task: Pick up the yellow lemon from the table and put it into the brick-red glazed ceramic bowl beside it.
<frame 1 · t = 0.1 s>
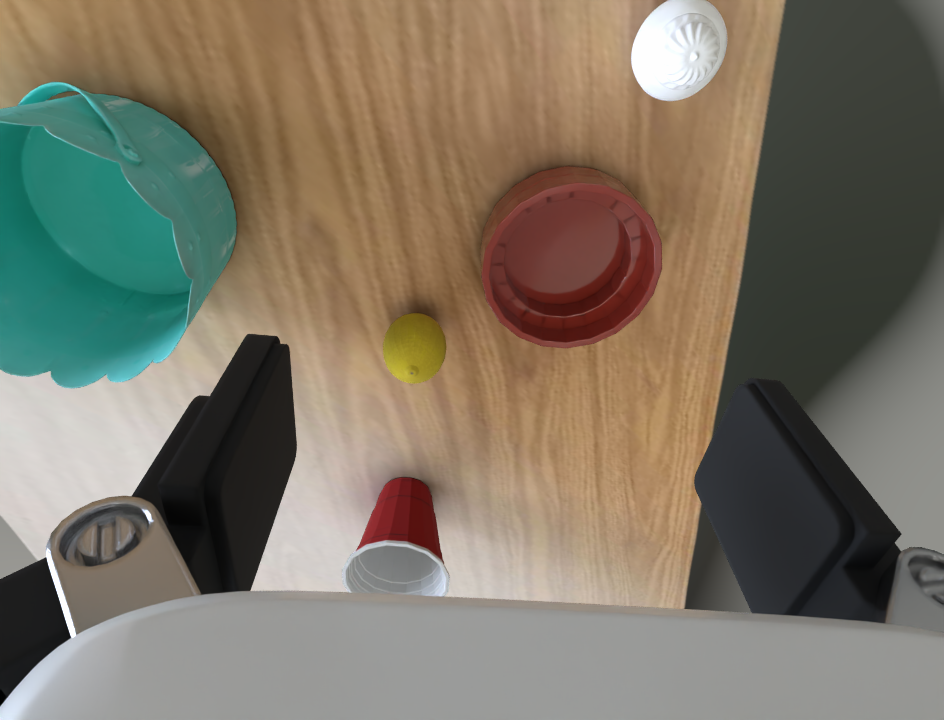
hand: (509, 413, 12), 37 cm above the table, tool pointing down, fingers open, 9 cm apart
basket: (131, 202, 46), on the table
muffin: (662, 45, 41), on the table
plastic cup: (405, 491, 66), on the table
bowl: (562, 247, 49), on the table
lemon: (417, 322, 53), on the table
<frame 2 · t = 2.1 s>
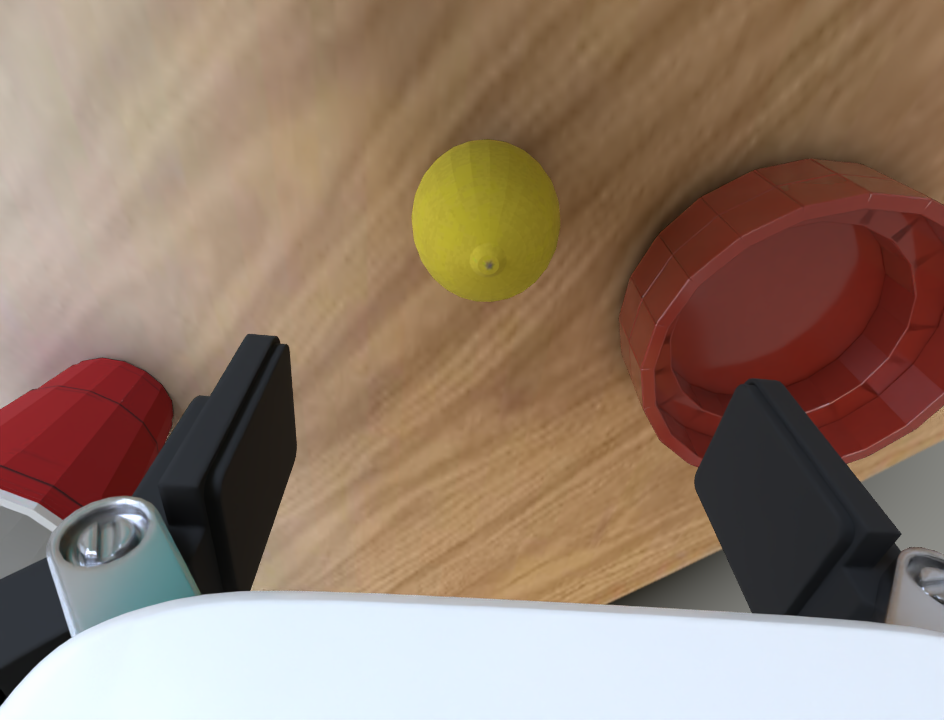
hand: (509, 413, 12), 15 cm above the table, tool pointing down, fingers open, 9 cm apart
plastic cup: (122, 394, 31), on the table
bowl: (762, 303, 28), on the table
lemon: (483, 184, 25), on the table
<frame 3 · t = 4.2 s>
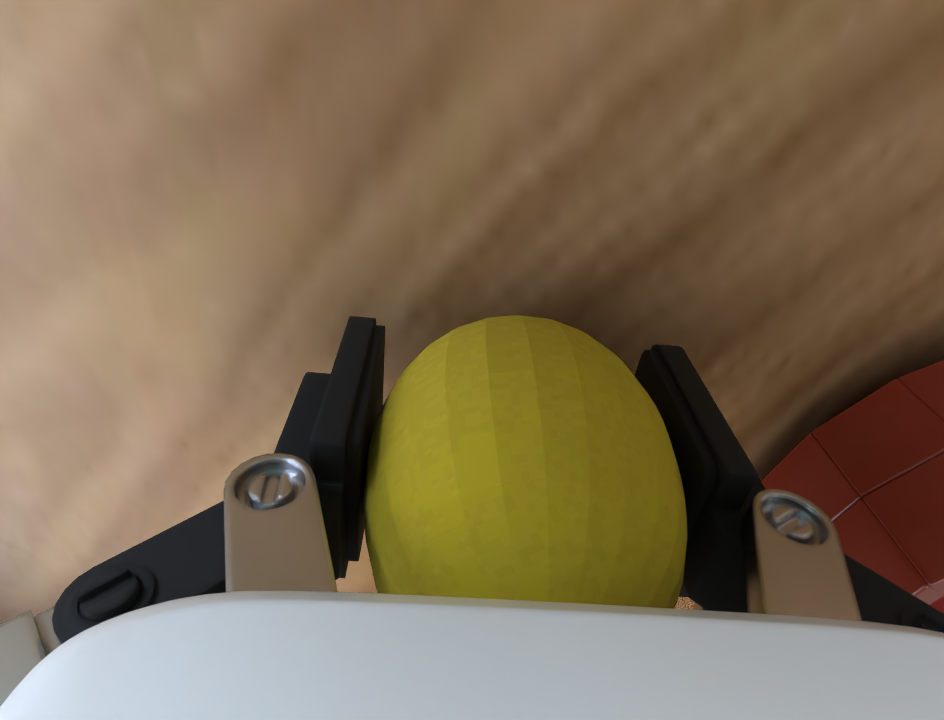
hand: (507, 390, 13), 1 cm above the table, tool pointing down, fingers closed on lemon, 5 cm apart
lemon: (503, 352, 14), on the table, touching gripper
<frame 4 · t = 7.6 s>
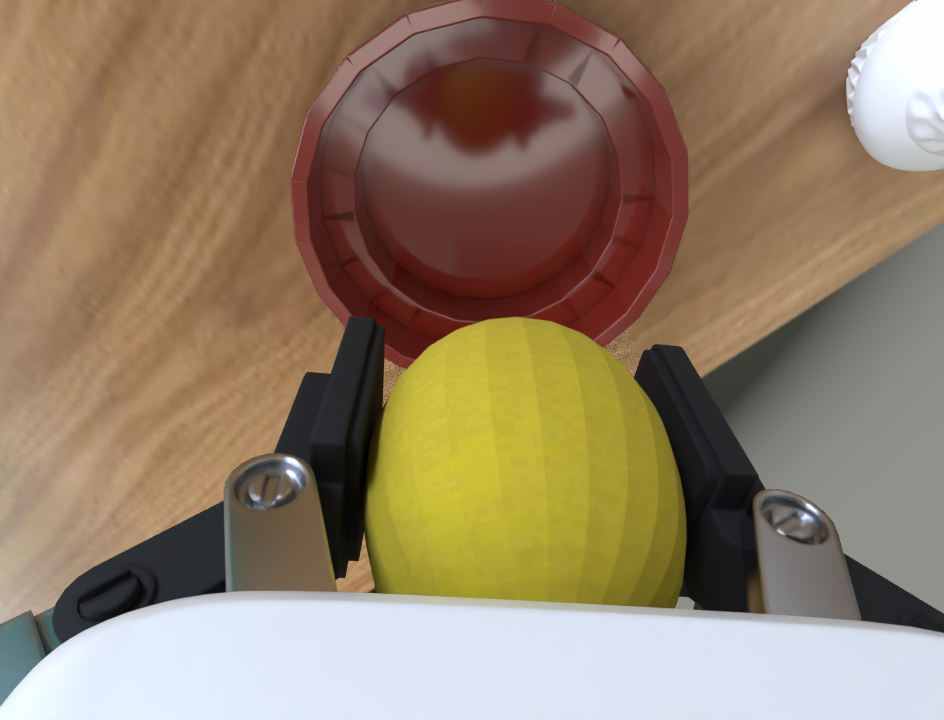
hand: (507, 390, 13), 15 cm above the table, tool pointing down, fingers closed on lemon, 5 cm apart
muffin: (885, 65, 22), on the table
bowl: (485, 186, 25), on the table
lemon: (503, 354, 14), point 13 cm above the table, touching gripper
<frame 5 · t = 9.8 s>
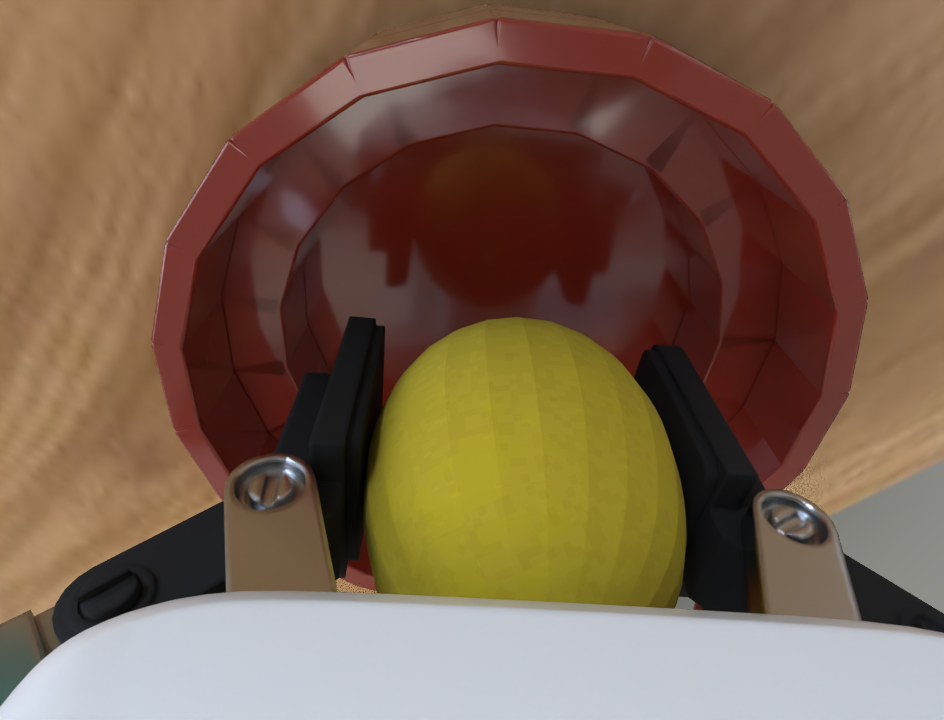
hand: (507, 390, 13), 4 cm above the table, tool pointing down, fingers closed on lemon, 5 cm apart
bowl: (495, 300, 16), on the table
lemon: (503, 354, 14), point 3 cm above the table, touching gripper
when the fingers open (2 cm above the table, at t = 11.0 s): lemon stays where it is, resting on bowl.
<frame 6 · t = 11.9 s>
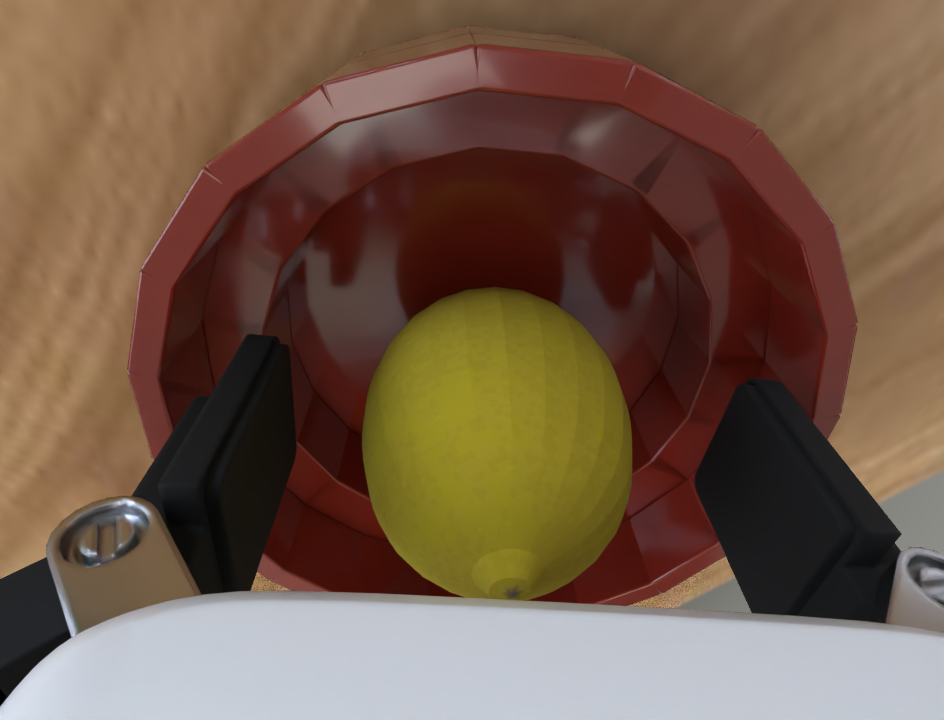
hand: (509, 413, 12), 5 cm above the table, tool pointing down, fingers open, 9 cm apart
bowl: (483, 319, 16), on the table
lemon: (485, 327, 16), resting on bowl
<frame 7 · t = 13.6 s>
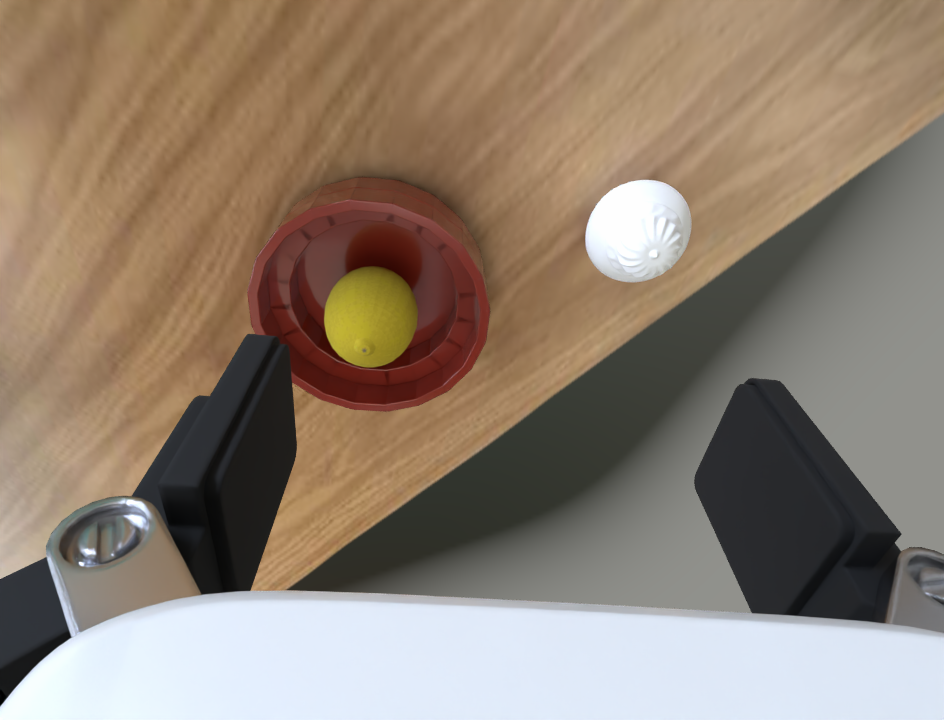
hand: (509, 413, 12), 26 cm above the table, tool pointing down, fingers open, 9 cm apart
muffin: (621, 212, 36), on the table
bowl: (379, 282, 38), on the table
lemon: (378, 285, 38), resting on bowl
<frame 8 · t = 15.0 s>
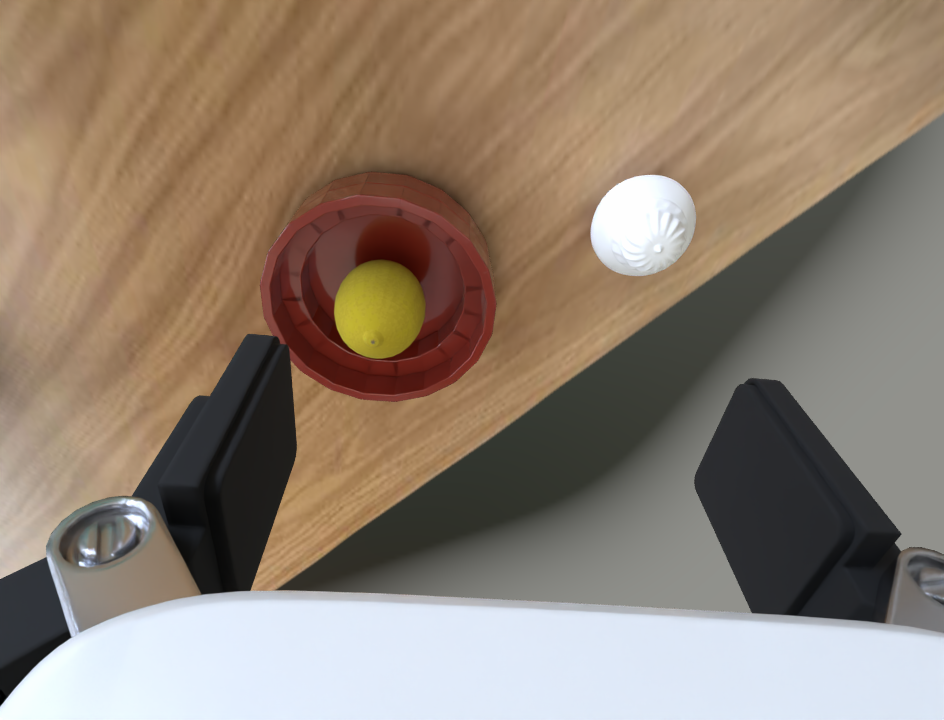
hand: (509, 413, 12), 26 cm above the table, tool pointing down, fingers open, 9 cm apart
muffin: (627, 206, 37), on the table
bowl: (388, 274, 39), on the table
lemon: (387, 277, 38), resting on bowl
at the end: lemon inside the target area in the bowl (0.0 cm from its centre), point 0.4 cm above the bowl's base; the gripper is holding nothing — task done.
